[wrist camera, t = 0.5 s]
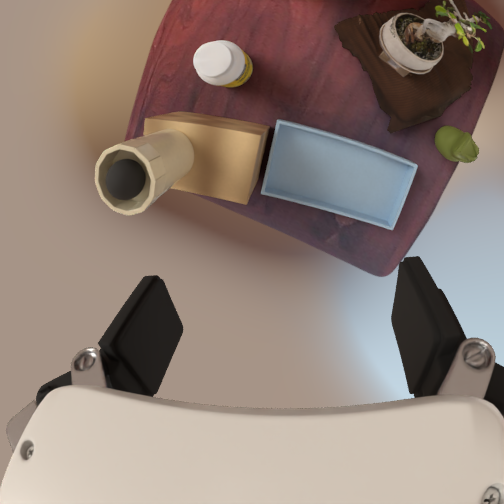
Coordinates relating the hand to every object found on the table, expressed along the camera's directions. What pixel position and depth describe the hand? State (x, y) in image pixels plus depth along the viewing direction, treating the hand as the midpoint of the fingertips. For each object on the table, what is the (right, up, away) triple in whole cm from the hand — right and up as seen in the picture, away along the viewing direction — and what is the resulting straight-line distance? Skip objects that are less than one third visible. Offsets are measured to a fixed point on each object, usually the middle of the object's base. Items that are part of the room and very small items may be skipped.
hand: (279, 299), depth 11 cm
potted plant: (+24, +32, +20) cm, 45 cm away
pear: (+31, +21, +26) cm, 45 cm away
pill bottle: (-4, +30, +26) cm, 40 cm away
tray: (+13, +15, +32) cm, 38 cm away
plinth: (-6, +19, +33) cm, 39 cm away
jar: (-12, +14, +23) cm, 29 cm away
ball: (-13, +9, +14) cm, 21 cm away
